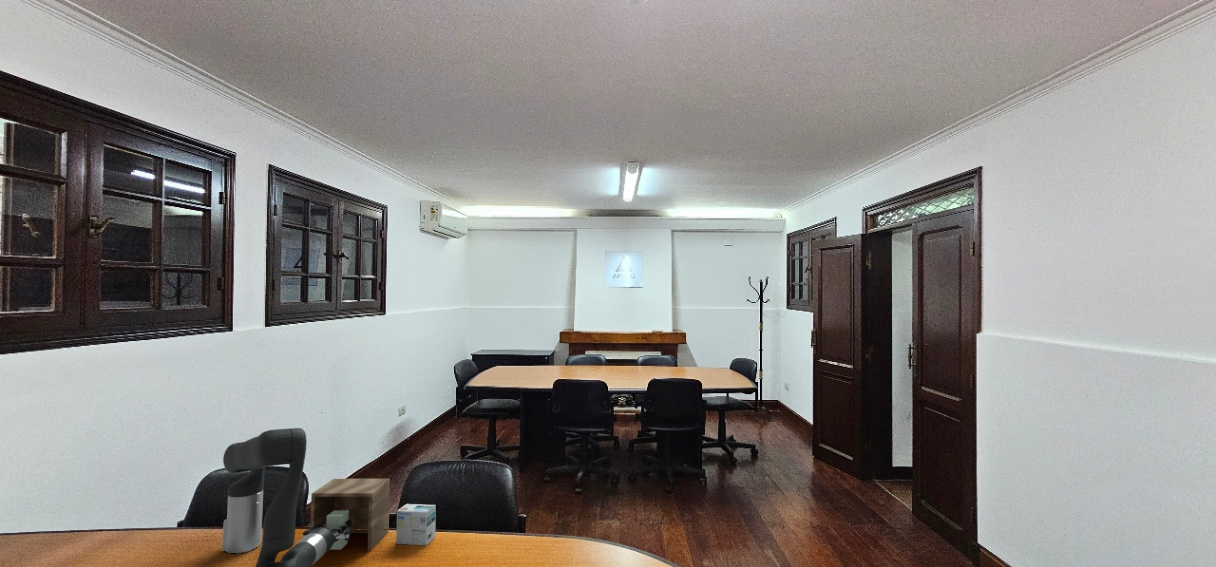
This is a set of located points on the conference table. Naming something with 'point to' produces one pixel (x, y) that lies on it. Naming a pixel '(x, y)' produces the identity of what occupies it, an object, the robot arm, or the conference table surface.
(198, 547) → the conference table surface
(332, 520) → the block
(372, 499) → the hutch
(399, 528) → the light bulb box
